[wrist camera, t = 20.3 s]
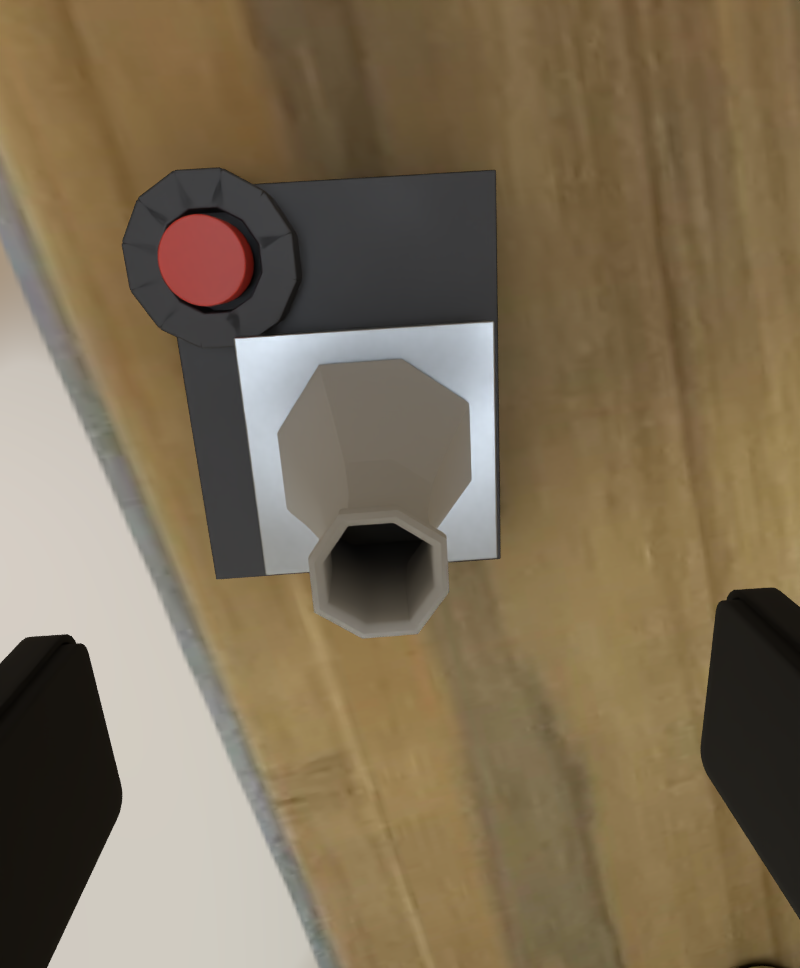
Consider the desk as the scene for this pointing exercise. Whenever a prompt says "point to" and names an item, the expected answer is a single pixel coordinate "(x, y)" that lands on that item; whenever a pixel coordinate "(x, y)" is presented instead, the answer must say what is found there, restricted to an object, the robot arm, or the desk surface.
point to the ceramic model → (762, 967)
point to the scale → (309, 296)
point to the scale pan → (428, 347)
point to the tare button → (205, 260)
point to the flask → (376, 490)
